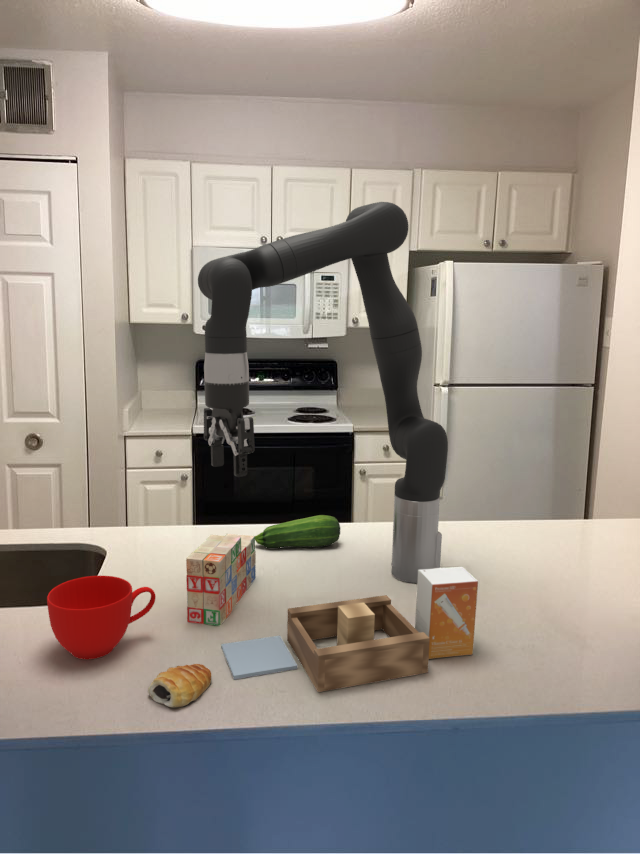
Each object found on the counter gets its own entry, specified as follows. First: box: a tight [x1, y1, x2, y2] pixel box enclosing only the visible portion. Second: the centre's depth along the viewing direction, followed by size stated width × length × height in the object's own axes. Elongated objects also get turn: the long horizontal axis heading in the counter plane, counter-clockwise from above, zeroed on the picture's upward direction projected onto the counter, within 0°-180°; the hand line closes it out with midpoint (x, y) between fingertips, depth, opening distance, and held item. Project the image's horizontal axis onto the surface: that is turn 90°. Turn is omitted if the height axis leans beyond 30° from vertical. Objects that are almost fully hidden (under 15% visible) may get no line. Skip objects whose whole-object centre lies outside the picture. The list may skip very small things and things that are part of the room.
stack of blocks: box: [185, 533, 257, 627], centre depth 130 cm, size 21×6×12 cm, turn 168°
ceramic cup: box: [46, 575, 156, 660], centre depth 112 cm, size 13×17×10 cm
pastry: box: [147, 663, 212, 708], centre depth 100 cm, size 9×7×4 cm
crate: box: [286, 594, 430, 693], centre depth 110 cm, size 18×16×6 cm
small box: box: [414, 566, 479, 660], centre depth 113 cm, size 8×6×13 cm
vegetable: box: [254, 514, 341, 549], centre depth 158 cm, size 7×7×20 cm
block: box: [336, 602, 375, 646], centre depth 110 cm, size 4×4×8 cm
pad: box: [220, 635, 298, 680], centre depth 110 cm, size 10×10×1 cm
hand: (228, 470), depth 120 cm, fingers open, 8 cm apart
